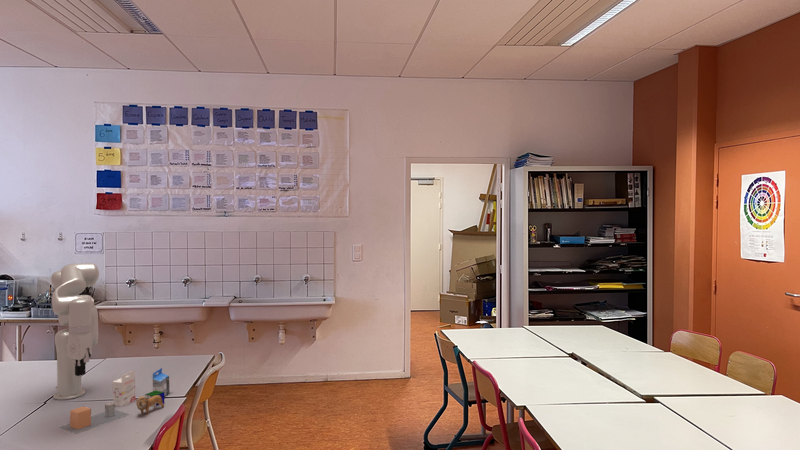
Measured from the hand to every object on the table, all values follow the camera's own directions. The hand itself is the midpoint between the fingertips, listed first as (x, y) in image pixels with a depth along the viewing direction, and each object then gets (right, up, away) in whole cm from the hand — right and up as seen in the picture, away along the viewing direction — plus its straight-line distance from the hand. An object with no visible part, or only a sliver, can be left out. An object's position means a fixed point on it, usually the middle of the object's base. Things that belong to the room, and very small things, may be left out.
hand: (80, 374), depth 204 cm
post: (+6, -20, +10) cm, 24 cm away
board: (+3, -21, +5) cm, 22 cm away
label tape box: (+16, -21, +36) cm, 45 cm away
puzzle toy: (+18, -21, +24) cm, 37 cm away
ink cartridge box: (+4, -21, +25) cm, 33 cm away
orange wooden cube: (0, -21, 0) cm, 21 cm away
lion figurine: (+21, -21, +15) cm, 34 cm away
